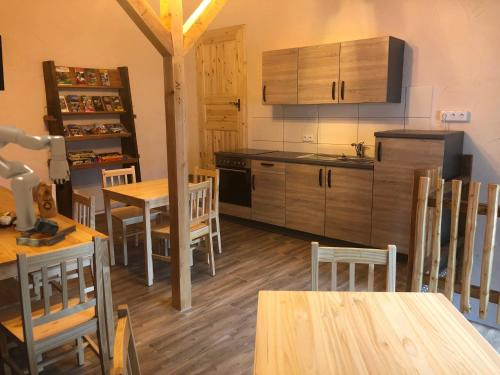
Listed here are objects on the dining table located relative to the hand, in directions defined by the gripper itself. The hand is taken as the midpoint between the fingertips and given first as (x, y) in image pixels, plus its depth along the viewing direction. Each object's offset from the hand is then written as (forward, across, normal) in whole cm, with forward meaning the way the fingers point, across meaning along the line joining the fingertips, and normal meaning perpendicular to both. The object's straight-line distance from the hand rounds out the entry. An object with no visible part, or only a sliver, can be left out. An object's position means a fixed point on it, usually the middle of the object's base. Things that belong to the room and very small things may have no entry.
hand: (62, 190), depth 238 cm
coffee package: (+24, -32, +21) cm, 45 cm away
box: (+20, +1, -8) cm, 22 cm away
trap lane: (+23, +1, -14) cm, 27 cm away
